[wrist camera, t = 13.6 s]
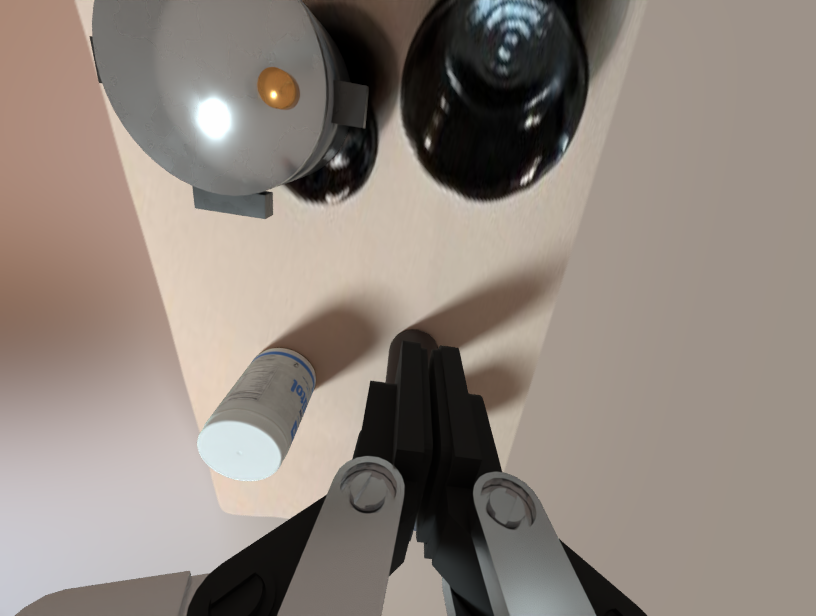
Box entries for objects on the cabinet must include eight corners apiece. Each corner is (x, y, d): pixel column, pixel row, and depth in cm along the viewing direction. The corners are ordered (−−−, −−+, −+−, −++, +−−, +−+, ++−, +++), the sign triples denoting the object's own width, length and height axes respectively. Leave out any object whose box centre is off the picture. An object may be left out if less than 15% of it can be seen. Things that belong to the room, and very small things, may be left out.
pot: (156, -26, 32) (40, -99, 22) (385, 17, 33) (373, -33, 23) (181, 179, 40) (104, 194, 30) (366, 209, 41) (351, 232, 31)
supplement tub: (327, 391, 53) (298, 476, 40) (269, 403, 54) (223, 490, 41) (301, 337, 49) (259, 412, 35) (239, 352, 50) (177, 430, 37)
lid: (80, -92, 22) (37, -121, 19) (335, -41, 23) (325, -63, 20) (130, 176, 29) (103, 180, 26) (323, 207, 30) (315, 214, 27)
